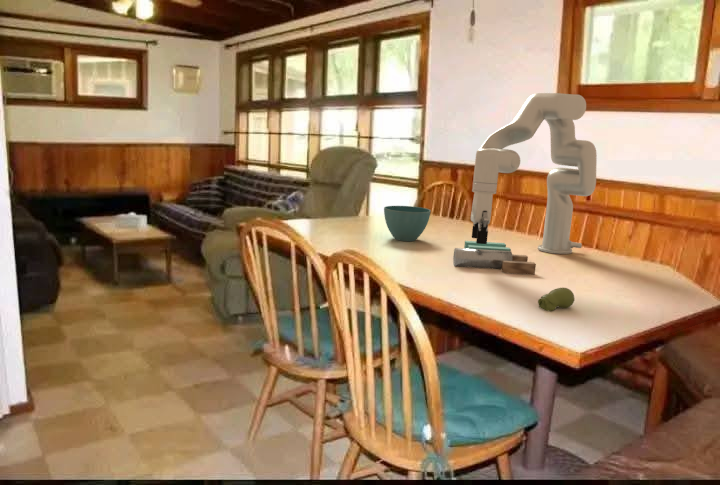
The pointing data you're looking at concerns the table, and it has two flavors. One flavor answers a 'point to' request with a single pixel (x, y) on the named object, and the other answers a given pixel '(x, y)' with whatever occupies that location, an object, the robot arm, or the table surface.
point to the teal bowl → (406, 221)
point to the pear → (556, 299)
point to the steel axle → (480, 258)
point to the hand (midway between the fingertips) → (478, 240)
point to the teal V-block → (486, 246)
